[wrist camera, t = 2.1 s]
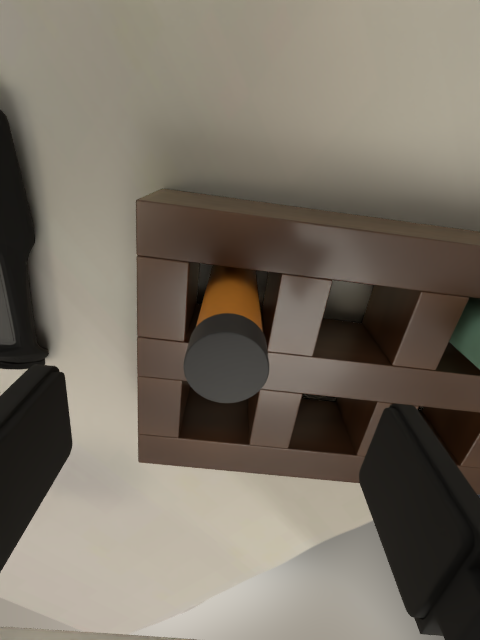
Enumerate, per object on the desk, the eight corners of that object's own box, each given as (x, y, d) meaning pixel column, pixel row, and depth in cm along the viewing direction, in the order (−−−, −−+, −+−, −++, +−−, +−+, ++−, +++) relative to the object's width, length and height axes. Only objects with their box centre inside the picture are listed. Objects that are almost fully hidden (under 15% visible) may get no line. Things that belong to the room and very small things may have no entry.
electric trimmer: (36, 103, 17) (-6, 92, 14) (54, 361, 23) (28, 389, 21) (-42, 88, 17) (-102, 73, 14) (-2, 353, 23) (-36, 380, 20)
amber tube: (211, 248, 20) (185, 327, 11) (261, 255, 20) (276, 337, 11) (206, 295, 21) (181, 399, 12) (253, 301, 21) (262, 407, 12)
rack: (161, 188, 18) (135, 199, 14) (544, 240, 20) (634, 266, 15) (156, 408, 25) (138, 462, 21) (439, 437, 26) (480, 495, 22)
